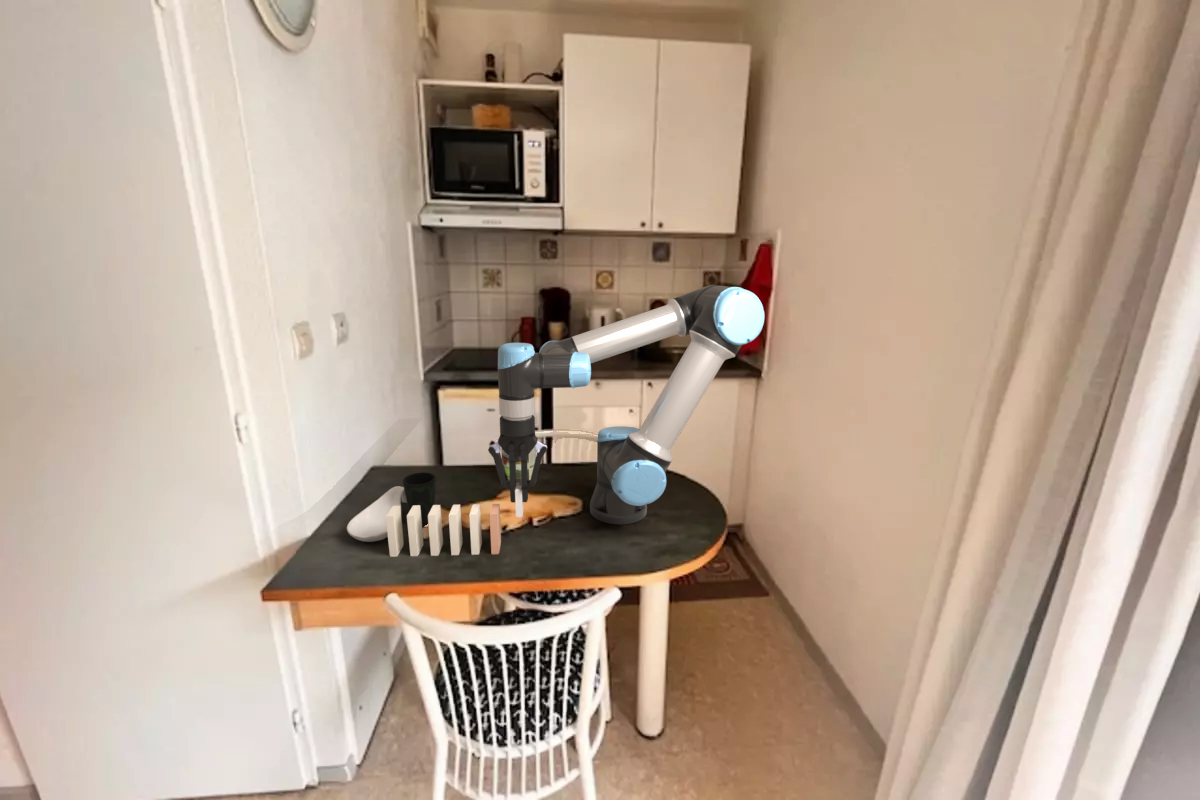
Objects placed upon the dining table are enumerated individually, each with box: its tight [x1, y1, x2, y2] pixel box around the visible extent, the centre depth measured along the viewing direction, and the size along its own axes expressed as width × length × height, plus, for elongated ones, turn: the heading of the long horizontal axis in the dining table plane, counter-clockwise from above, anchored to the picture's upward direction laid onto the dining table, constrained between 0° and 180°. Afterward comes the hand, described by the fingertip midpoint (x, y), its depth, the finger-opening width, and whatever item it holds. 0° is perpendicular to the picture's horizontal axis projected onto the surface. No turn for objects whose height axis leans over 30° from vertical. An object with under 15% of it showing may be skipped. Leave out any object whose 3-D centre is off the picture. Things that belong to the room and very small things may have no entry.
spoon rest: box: [346, 485, 407, 543], centre depth 130 cm, size 24×12×7 cm, turn 173°
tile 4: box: [406, 505, 424, 557], centre depth 118 cm, size 2×5×10 cm, turn 4°
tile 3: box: [428, 504, 444, 557], centre depth 119 cm, size 2×5×10 cm, turn 4°
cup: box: [402, 471, 436, 529], centre depth 130 cm, size 8×8×12 cm
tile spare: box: [489, 503, 502, 555], centre depth 119 cm, size 2×5×10 cm, turn 4°
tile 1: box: [468, 503, 483, 556], centre depth 119 cm, size 2×5×10 cm, turn 4°
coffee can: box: [500, 446, 537, 486], centre depth 155 cm, size 10×10×14 cm
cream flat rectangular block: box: [386, 506, 405, 558], centre depth 118 cm, size 2×5×10 cm, turn 4°
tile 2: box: [448, 504, 464, 556], centre depth 119 cm, size 2×5×10 cm, turn 4°
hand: (519, 514), depth 119 cm, fingers closed
